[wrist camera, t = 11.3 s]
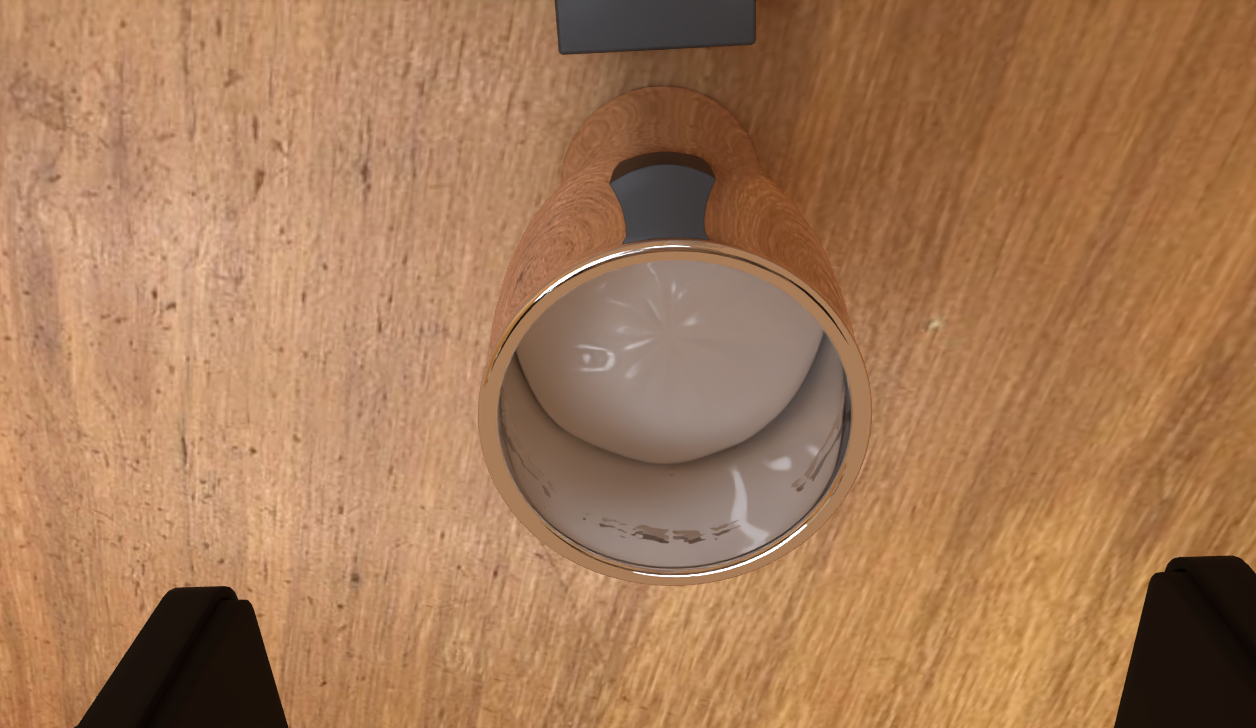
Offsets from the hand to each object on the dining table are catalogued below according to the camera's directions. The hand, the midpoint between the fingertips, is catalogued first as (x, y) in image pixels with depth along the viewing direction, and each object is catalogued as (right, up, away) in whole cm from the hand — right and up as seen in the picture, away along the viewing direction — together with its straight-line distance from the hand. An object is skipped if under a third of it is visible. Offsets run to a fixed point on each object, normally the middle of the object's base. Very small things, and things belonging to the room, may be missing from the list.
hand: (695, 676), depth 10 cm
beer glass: (0, +9, +19) cm, 21 cm away
